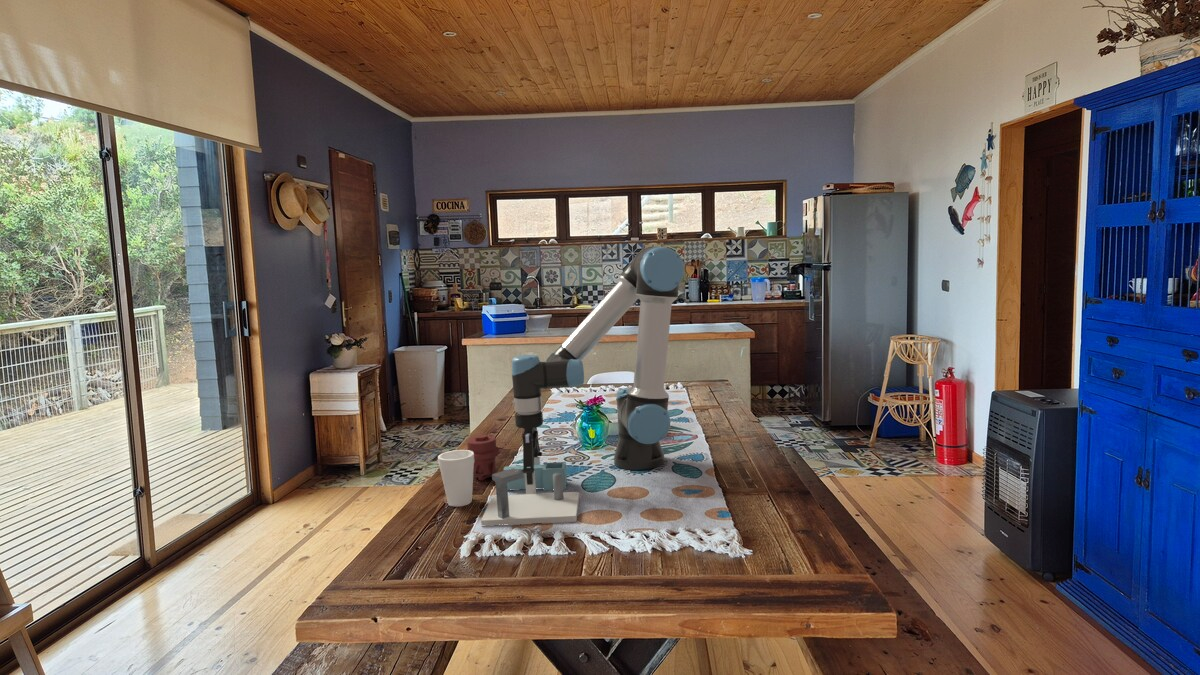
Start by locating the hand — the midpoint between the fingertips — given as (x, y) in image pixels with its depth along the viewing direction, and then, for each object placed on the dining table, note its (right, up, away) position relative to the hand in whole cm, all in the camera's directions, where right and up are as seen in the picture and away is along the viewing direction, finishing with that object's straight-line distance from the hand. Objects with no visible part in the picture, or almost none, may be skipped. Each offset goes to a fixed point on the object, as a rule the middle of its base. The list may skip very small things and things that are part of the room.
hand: (533, 487), depth 202 cm
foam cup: (-19, -3, -8) cm, 21 cm away
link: (+1, 0, 0) cm, 1 cm away
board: (+1, -2, -18) cm, 18 cm away
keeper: (-3, -3, -23) cm, 24 cm away
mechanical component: (-16, 0, +12) cm, 20 cm away
